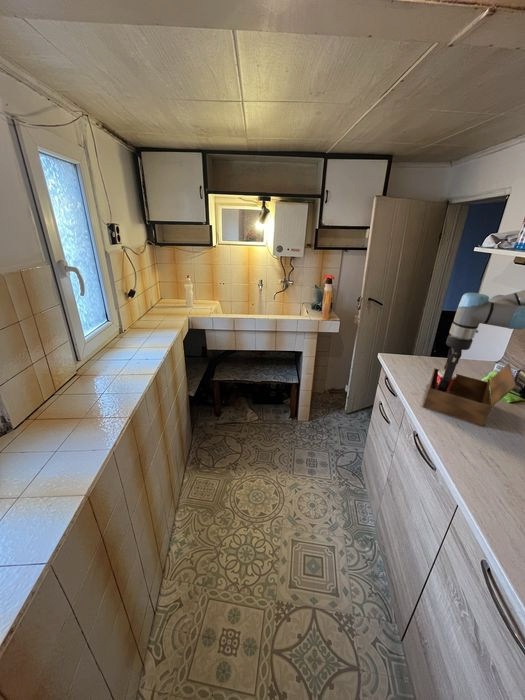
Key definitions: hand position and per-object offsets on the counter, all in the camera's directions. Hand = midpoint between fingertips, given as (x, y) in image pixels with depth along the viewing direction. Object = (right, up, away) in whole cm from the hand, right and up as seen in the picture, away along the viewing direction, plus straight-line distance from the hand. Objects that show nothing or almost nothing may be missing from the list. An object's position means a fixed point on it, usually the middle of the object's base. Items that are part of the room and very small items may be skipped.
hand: (441, 390), depth 111 cm
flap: (+13, +4, -12) cm, 19 cm away
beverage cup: (0, -1, +1) cm, 1 cm away
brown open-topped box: (+4, -5, -1) cm, 6 cm away
